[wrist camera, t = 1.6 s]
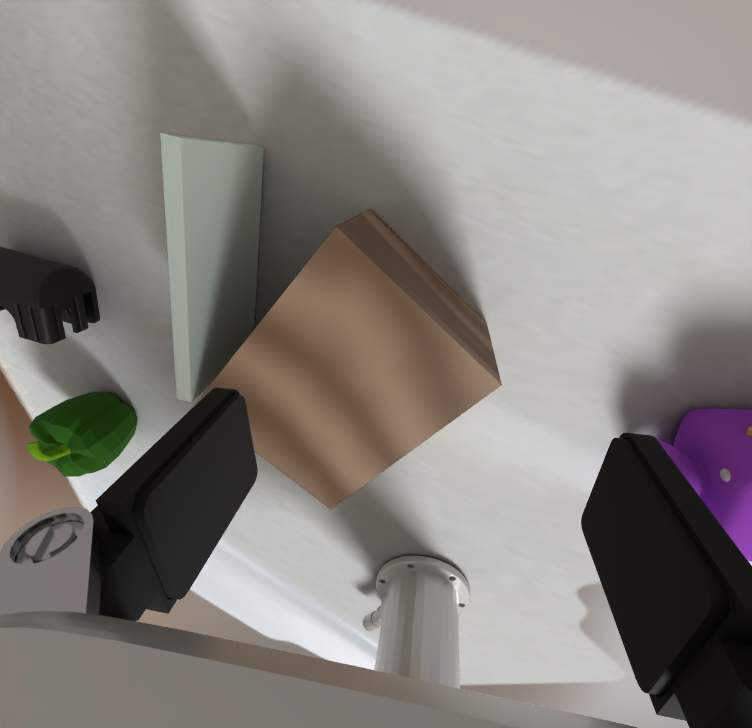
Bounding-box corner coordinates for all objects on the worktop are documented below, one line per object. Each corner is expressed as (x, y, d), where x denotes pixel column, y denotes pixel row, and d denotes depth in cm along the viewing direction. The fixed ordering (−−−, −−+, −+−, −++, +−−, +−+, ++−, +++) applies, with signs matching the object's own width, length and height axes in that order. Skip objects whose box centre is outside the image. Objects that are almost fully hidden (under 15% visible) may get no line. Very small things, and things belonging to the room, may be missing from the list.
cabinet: (358, 430, 42) (330, 509, 32) (257, 346, 39) (194, 405, 29) (486, 323, 34) (501, 384, 24) (371, 208, 31) (336, 226, 21)
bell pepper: (151, 445, 49) (85, 506, 40) (92, 428, 49) (14, 484, 40) (146, 392, 45) (71, 446, 36) (81, 373, 45) (-8, 423, 36)
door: (253, 346, 39) (191, 402, 29) (231, 340, 39) (162, 394, 29) (263, 147, 30) (180, 137, 21) (235, 140, 30) (140, 127, 21)
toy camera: (620, 407, 35) (676, 485, 27) (804, 385, 32) (940, 468, 23) (621, 493, 40) (669, 584, 31) (782, 482, 36) (890, 583, 27)
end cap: (96, 259, 38) (30, 276, 32) (105, 323, 41) (47, 349, 35) (4, 234, 38) (-78, 245, 32) (21, 299, 42) (-51, 321, 36)
